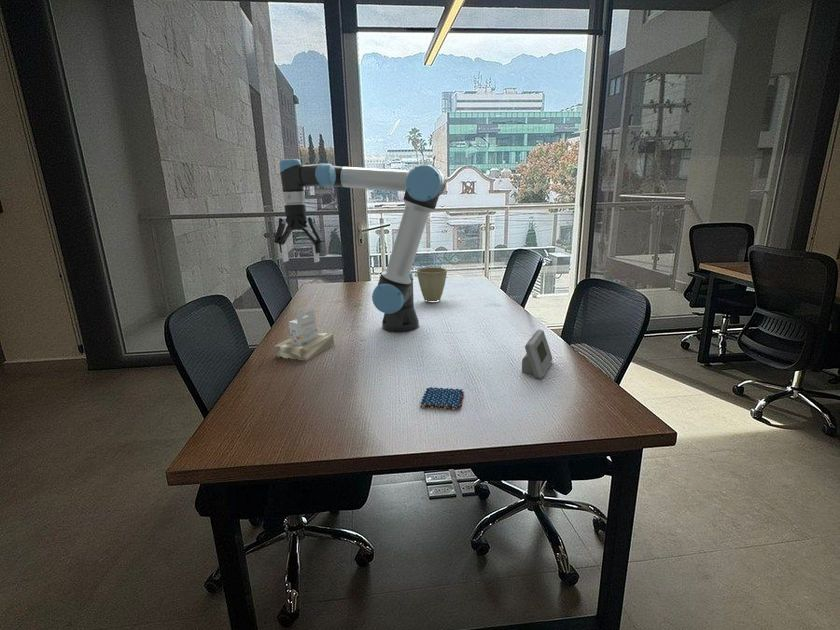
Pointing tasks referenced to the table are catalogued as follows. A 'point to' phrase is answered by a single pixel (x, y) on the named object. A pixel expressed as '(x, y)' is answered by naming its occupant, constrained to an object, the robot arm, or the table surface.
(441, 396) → the woven mat
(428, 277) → the plant pot
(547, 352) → the digital clock
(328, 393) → the table surface
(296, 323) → the ink cartridge box
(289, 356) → the beige flat rectangular frame
